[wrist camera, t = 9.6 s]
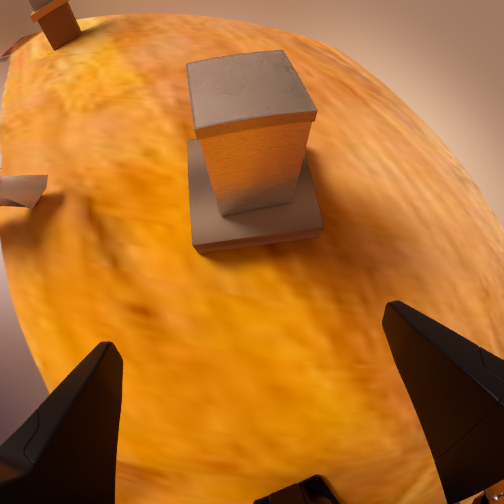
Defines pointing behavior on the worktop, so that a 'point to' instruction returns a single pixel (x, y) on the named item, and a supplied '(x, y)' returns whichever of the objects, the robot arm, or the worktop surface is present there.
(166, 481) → the worktop surface
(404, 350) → the robot arm
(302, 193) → the block
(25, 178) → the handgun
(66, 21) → the knife
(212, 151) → the tin
